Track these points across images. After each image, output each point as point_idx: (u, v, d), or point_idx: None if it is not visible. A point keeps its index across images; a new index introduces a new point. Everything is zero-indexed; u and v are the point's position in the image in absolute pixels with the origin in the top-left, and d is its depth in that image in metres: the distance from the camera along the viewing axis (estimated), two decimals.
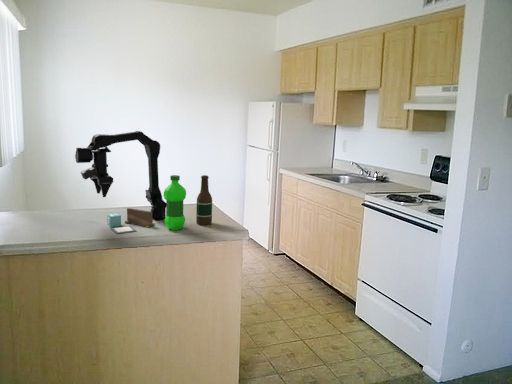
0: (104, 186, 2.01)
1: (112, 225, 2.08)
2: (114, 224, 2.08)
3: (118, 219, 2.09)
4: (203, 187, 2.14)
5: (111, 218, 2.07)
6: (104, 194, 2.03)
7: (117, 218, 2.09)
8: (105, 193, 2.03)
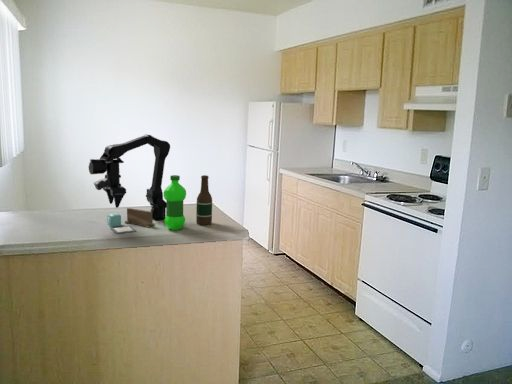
0: (117, 197, 2.04)
1: (112, 225, 2.08)
2: (114, 224, 2.08)
3: (118, 219, 2.09)
4: (203, 187, 2.14)
5: (111, 218, 2.07)
6: (117, 205, 2.05)
7: (117, 218, 2.09)
8: (118, 204, 2.05)
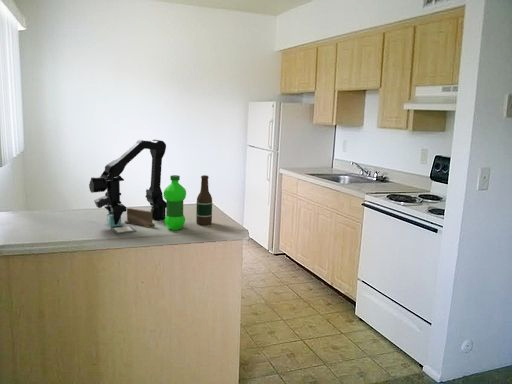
0: (116, 214, 2.07)
1: (112, 225, 2.08)
2: (114, 224, 2.08)
3: None
4: (203, 187, 2.14)
5: (111, 218, 2.07)
6: (116, 221, 2.08)
7: None
8: (117, 220, 2.08)
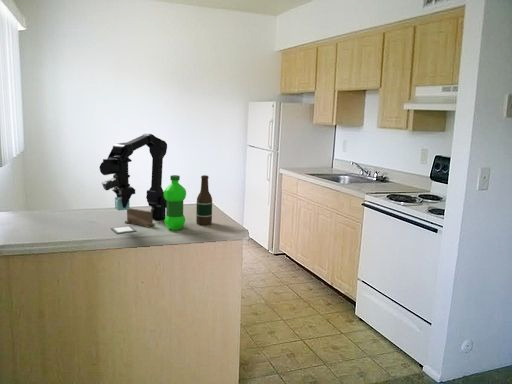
0: (124, 196, 1.97)
1: (120, 208, 1.98)
2: (122, 207, 1.99)
3: None
4: (203, 187, 2.14)
5: (119, 201, 1.97)
6: (124, 205, 1.98)
7: None
8: (125, 204, 1.98)
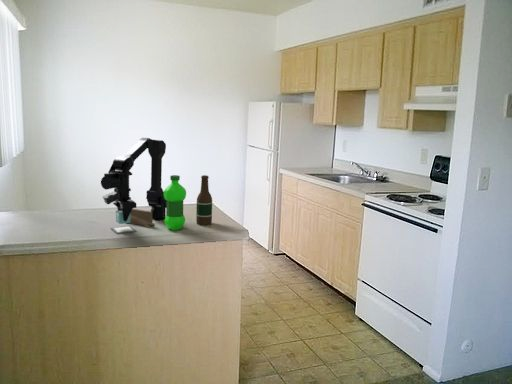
0: (125, 210, 1.98)
1: (121, 222, 1.99)
2: (123, 221, 2.00)
3: None
4: (203, 187, 2.14)
5: (120, 214, 1.98)
6: (125, 218, 1.99)
7: None
8: (126, 217, 1.99)
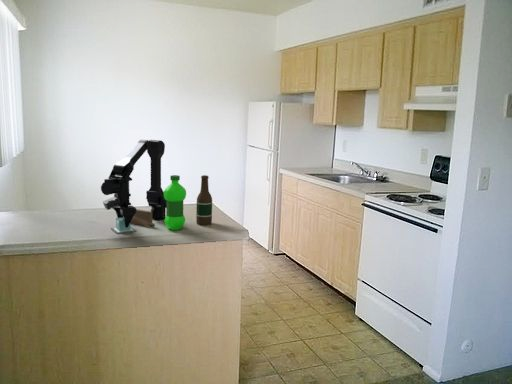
0: (127, 216, 1.97)
1: (121, 229, 2.00)
2: (123, 228, 2.00)
3: None
4: (203, 187, 2.14)
5: (120, 222, 1.99)
6: (127, 224, 1.98)
7: None
8: (128, 224, 1.98)
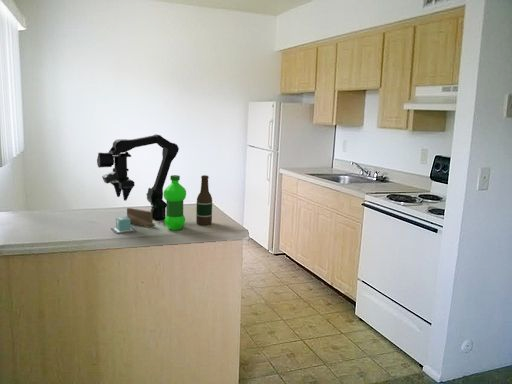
0: (125, 190, 2.08)
1: (121, 229, 2.00)
2: (123, 228, 2.00)
3: (127, 222, 2.01)
4: (203, 187, 2.14)
5: (120, 222, 1.99)
6: (125, 197, 2.09)
7: (126, 222, 2.01)
8: (126, 197, 2.09)
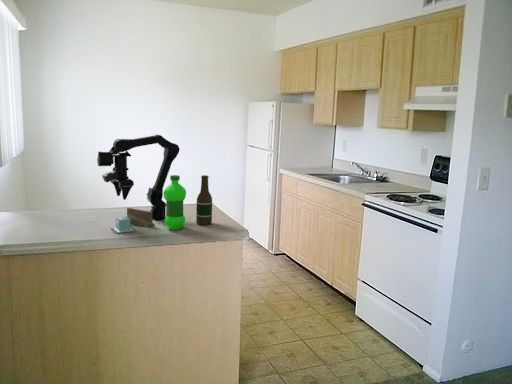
0: (125, 189, 2.09)
1: (121, 229, 2.00)
2: (123, 228, 2.00)
3: (127, 222, 2.01)
4: (203, 187, 2.14)
5: (120, 222, 1.99)
6: (124, 197, 2.10)
7: (126, 222, 2.01)
8: (125, 196, 2.10)
